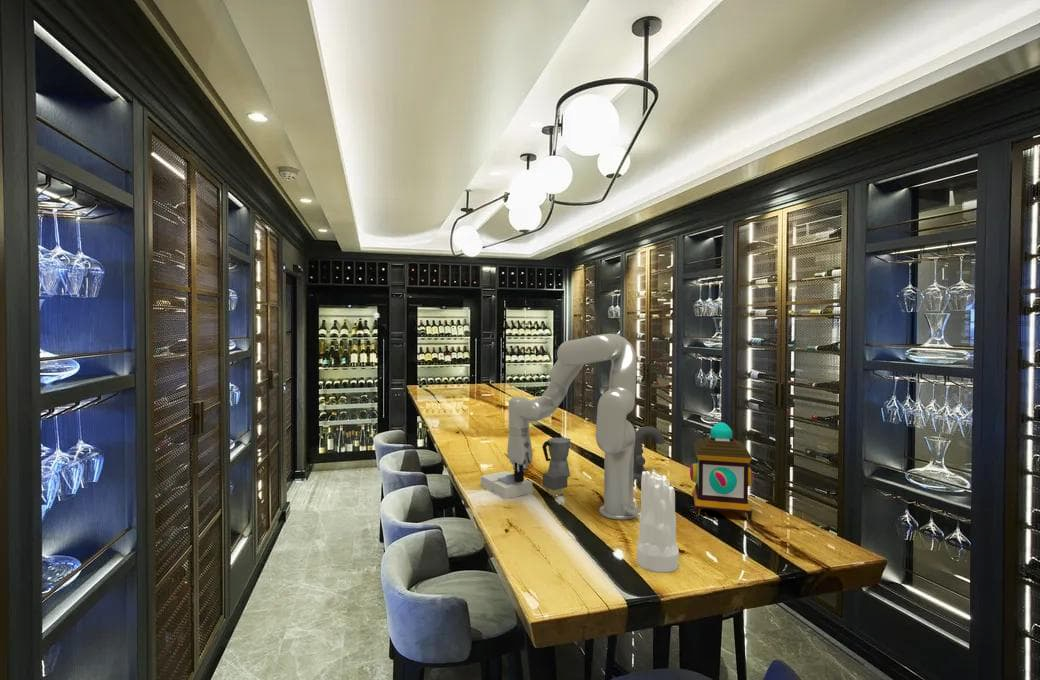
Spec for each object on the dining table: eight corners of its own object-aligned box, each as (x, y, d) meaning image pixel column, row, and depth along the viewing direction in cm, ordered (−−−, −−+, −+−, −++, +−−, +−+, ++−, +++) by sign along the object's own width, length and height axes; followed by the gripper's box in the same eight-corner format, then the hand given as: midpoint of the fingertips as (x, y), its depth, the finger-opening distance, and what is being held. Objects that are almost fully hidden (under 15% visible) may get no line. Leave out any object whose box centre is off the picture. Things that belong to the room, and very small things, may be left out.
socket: (532, 492, 197) (532, 482, 196) (505, 499, 190) (505, 488, 190) (506, 480, 212) (506, 470, 211) (480, 486, 205) (480, 475, 205)
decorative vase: (671, 553, 145) (671, 464, 144) (684, 572, 135) (685, 475, 134) (632, 554, 145) (632, 464, 144) (642, 573, 134) (643, 476, 133)
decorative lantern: (747, 502, 186) (749, 418, 185) (757, 523, 167) (758, 429, 165) (688, 497, 191) (689, 415, 190) (690, 517, 172) (691, 426, 171)
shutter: (522, 481, 197) (522, 473, 197) (507, 484, 193) (507, 476, 193) (512, 477, 203) (512, 468, 203) (497, 480, 199) (497, 471, 199)
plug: (567, 495, 194) (567, 475, 194) (553, 498, 190) (553, 478, 190) (556, 490, 199) (556, 470, 199) (542, 493, 196) (542, 473, 196)
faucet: (670, 480, 212) (670, 430, 212) (630, 479, 213) (631, 430, 212) (659, 467, 230) (659, 422, 230) (623, 467, 231) (623, 422, 230)
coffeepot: (562, 470, 225) (562, 429, 225) (578, 475, 218) (578, 432, 217) (535, 477, 216) (535, 434, 215) (550, 483, 208) (550, 438, 208)
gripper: (539, 434, 188) (539, 484, 189) (516, 427, 201) (516, 474, 201) (521, 436, 184) (521, 488, 185) (499, 429, 196) (499, 477, 197)
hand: (519, 481), depth 193 cm, fingers closed
